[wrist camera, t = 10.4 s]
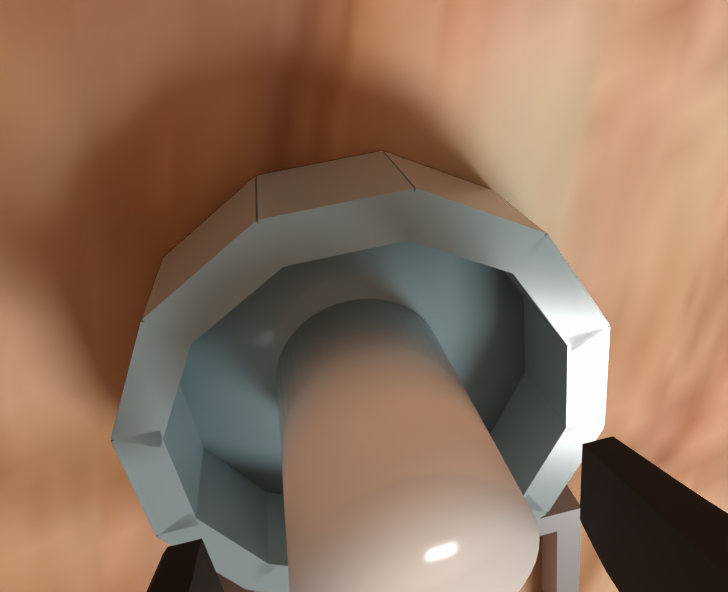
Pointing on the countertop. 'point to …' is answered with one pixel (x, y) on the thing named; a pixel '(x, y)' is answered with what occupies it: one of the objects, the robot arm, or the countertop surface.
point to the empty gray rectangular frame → (556, 545)
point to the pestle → (391, 463)
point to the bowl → (324, 289)
